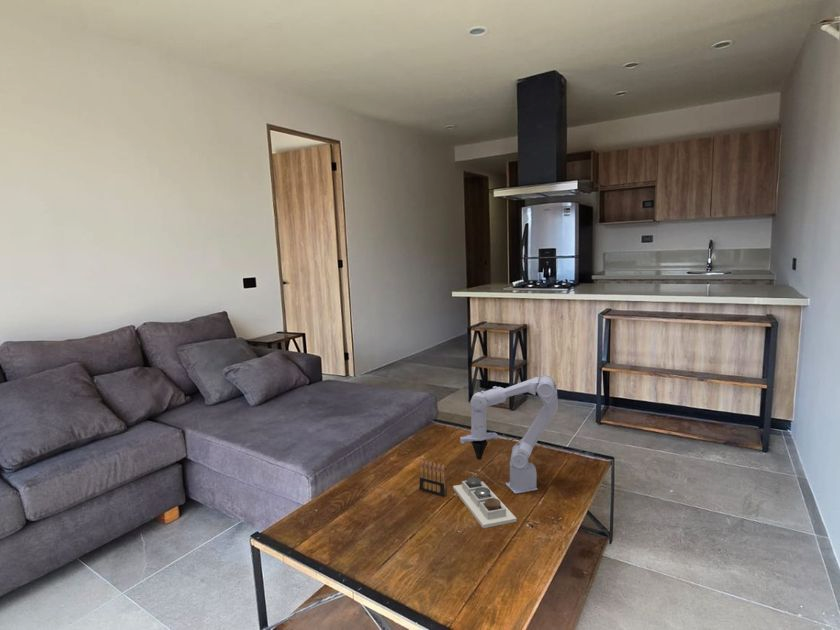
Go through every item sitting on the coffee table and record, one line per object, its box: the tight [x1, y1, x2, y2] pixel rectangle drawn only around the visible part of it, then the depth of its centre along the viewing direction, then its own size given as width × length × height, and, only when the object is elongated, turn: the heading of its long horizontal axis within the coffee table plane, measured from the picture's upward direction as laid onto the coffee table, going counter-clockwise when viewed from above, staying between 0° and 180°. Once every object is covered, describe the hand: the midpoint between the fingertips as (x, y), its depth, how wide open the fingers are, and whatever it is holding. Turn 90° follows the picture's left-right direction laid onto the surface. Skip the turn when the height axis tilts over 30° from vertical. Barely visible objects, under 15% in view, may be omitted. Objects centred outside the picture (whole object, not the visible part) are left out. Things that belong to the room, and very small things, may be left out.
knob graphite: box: [466, 476, 481, 488], centre depth 172 cm, size 5×5×4 cm
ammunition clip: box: [418, 459, 447, 498], centre depth 173 cm, size 11×2×12 cm, turn 59°
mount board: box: [452, 479, 517, 529], centre depth 165 cm, size 12×27×4 cm, turn 17°
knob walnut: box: [485, 498, 501, 511], centre depth 157 cm, size 5×5×4 cm
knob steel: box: [475, 487, 491, 499], centre depth 165 cm, size 5×5×4 cm
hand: (478, 458), depth 179 cm, fingers closed
